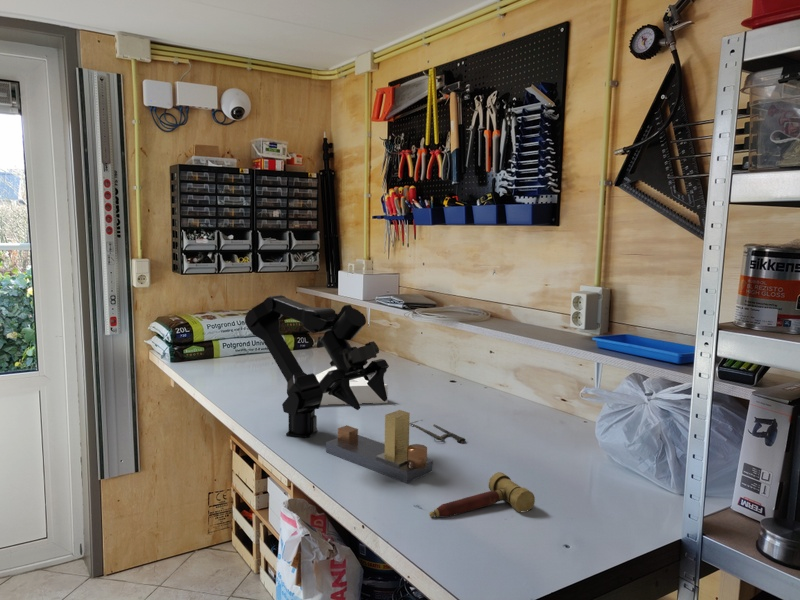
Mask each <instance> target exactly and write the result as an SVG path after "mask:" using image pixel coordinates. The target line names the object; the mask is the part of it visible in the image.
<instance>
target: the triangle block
mask: <svg viewBox="0 0 800 600" xmlns="http://www.w3.org/2000/svg"><path fill="white" fill-rule="evenodd" d="M336 369H337V368H336V366H331V367H329V368H328V369H325V370H324V371H322V372H319V373H317V374H314V375H315V376H316V378H317V380H318V382H319V383H320V381H321V380H322V379H323V378H324V376H325V375H326V374H327V373H328V372H329V371H332V370H336ZM349 383H350V388H351V390H352V392H353V393H354V395H355V397H356V399H357V401H358V403H359V405H363V404H362V403H373V404H388V402H389V401H388V396H389V393H388V392H389V391H388V389H389V387H388V386H389V385H388V384H386V383H384V385H385V390H386V394H387V400H386V401H385V402H384V401H383V400H382V399H381V398H380V397H379V396H378V395H377V394H376V393H375V392H374V391H373V390H372V389H371V388H370V387H369V385H368V384H367V383H368V381H367V380H365V379H364V377H360V378H356V379H352V380H349ZM328 393H329V392H328ZM328 393H323V397H322V401H321V404H320V406H329V405H328V404H345V405H348V404H347V403H345V402H344V401H342V400H340V399H338V398H337V397H335V396H333V395H329V394H328Z"/></svg>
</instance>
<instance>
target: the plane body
mask: <svg viewBox="0 0 800 600" xmlns="http://www.w3.org/2000/svg"><path fill="white" fill-rule="evenodd" d="M325 452H326V453H327V454H330V455H333V456H336V457H338V458H341V459H343V460H346V461H347V462H348V461H349V462H351V463H353V464H356V465H358V466H361V467H363V468H366V469H369V470H372V471H374V472H376V473H379V474H381V475H385V476H386V477H390V478H392V479H395V480H397V481H399V482H402V483H405V484H409V483H411V482H413V481H416V480H417V479H419V478H421V477H424V476H426V475H428V474H429V473H432V472H433V471H434V461H433V460H434V459H433V460H432V459H430V458H428V446H426V445H424V444H420V443H415V444H409V446H408V447H407V456H405V457H403V458H400V459H398V460H396V461H393V460H390V459H388V458H385V443H383V442H381V441H378V440H374V439H371V438H368V437H366V436H363V435H360V434H359V428H356V427H354V426H353V427H352V426H350V425H343V426H341V427H338V428H337V437H336V438H334V439H331V440H329V441H325Z"/></svg>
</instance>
